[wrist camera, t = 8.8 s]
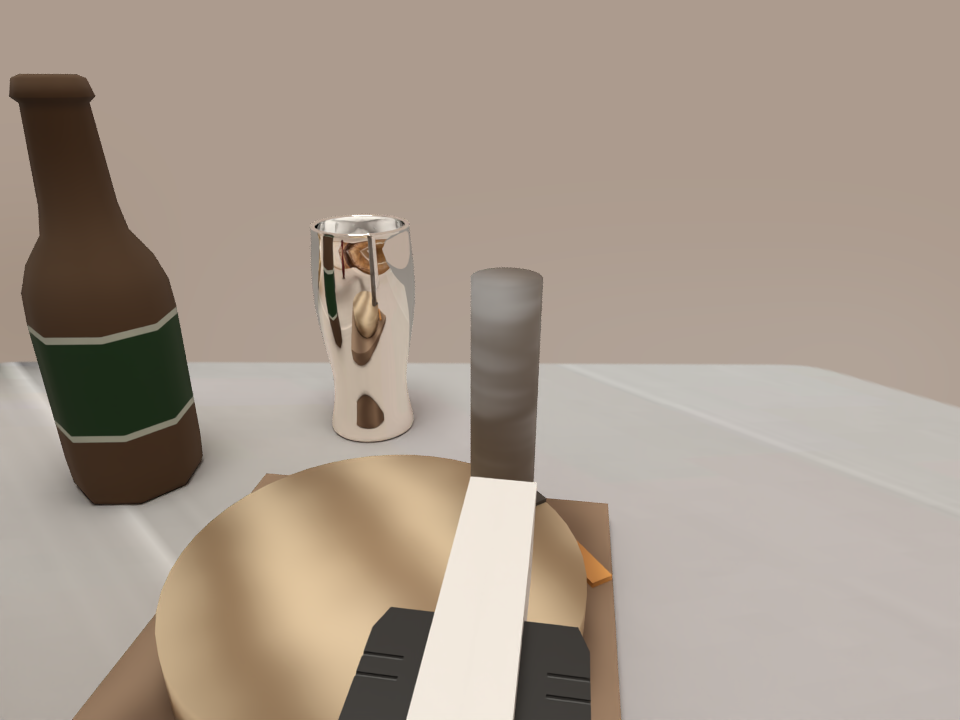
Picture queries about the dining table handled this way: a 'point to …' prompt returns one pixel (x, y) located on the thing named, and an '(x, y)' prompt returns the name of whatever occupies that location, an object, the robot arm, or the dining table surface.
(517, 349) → the cam dial
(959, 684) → the dining table surface
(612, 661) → the dial base
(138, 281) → the beer bottle
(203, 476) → the dining table surface
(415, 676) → the robot arm
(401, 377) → the beer glass
